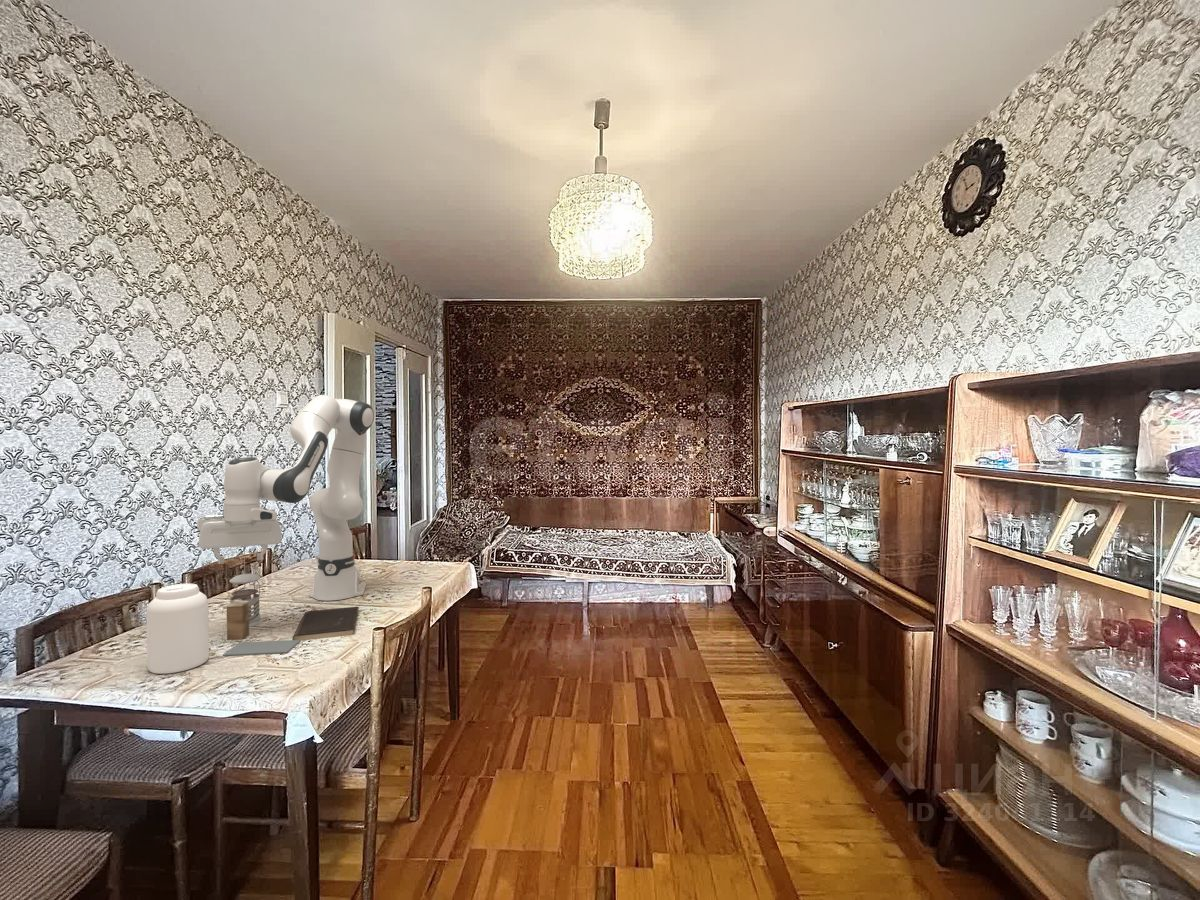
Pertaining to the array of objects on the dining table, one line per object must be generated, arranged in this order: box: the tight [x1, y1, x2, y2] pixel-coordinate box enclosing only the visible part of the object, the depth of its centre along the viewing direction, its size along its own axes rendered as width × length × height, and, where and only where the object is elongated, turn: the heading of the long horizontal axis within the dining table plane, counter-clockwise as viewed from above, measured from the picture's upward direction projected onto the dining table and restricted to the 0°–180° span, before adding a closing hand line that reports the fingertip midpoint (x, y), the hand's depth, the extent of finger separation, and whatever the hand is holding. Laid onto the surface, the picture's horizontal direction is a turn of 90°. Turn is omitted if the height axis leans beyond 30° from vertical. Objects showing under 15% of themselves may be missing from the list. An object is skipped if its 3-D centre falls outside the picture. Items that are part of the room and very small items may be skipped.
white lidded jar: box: [146, 582, 210, 675], centre depth 142 cm, size 12×12×20 cm
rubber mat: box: [222, 639, 302, 657], centre depth 153 cm, size 9×16×1 cm, turn 98°
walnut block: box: [226, 600, 250, 641], centre depth 162 cm, size 4×4×10 cm
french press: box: [229, 546, 264, 628], centre depth 175 cm, size 10×12×25 cm
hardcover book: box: [291, 606, 360, 641], centre depth 172 cm, size 16×23×2 cm
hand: (240, 561), depth 162 cm, fingers open, 8 cm apart
